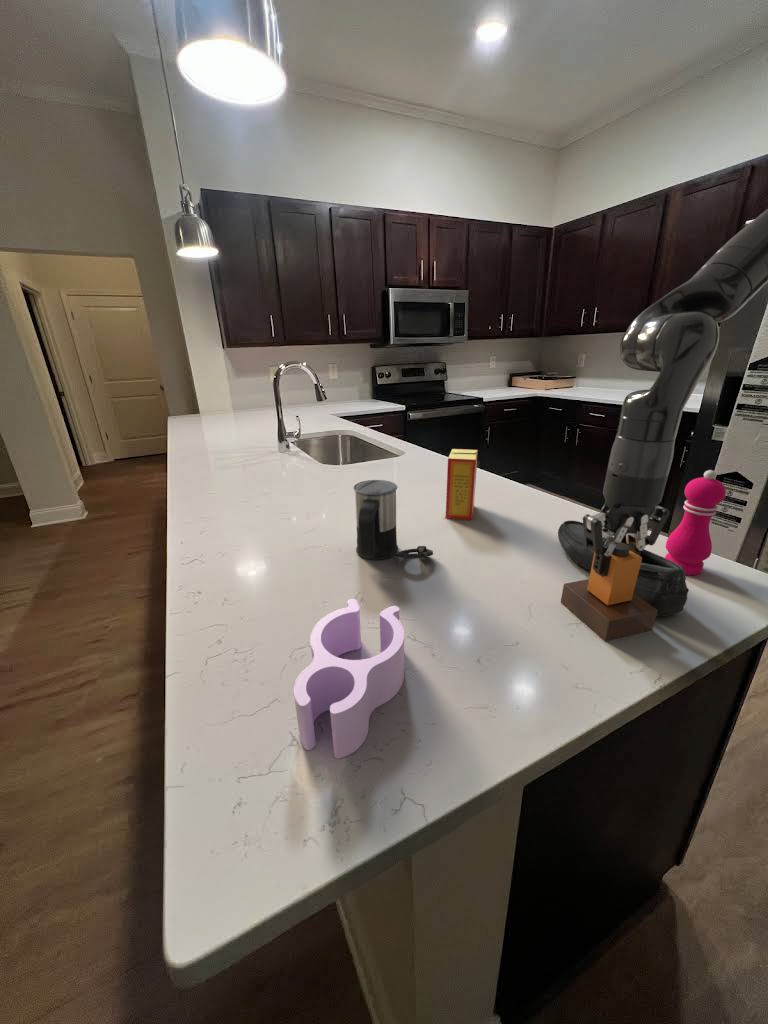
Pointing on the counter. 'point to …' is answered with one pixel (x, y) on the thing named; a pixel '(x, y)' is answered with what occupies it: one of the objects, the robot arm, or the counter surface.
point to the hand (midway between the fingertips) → (613, 570)
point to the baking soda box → (461, 483)
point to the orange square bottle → (616, 576)
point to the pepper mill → (696, 524)
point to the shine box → (608, 612)
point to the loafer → (655, 579)
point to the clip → (348, 677)
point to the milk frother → (379, 522)
